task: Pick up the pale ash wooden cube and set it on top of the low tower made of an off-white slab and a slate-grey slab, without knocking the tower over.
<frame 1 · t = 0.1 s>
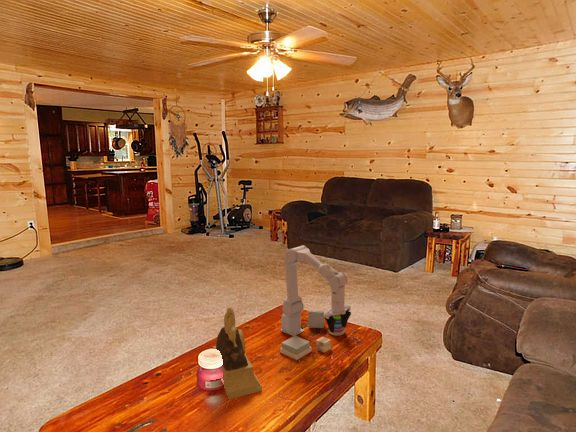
hand: (337, 329, 175), 10 cm above the table, fingers open, 7 cm apart
stacking toy: (336, 333, 193), on the table
top slab: (295, 347, 176), point 2 cm above the table, touching bottom slab
medicine box: (316, 326, 201), on the table
seated figure statue: (235, 376, 158), on the table
ash cube: (323, 349, 178), on the table
bottom slab: (295, 352, 176), on the table, touching top slab
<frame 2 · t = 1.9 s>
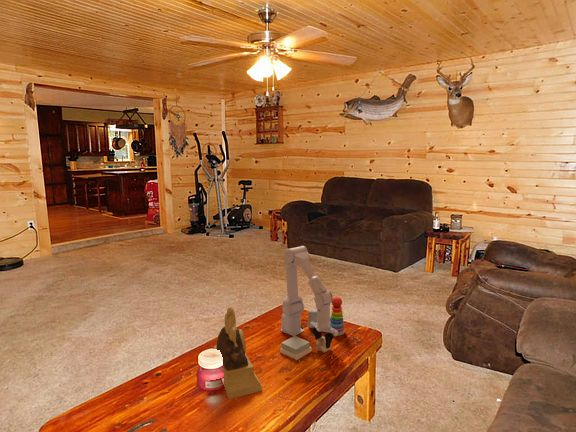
hand: (323, 345, 177), 2 cm above the table, fingers closed on ash cube, 5 cm apart
top slab: (295, 347, 176), point 2 cm above the table
ash cube: (323, 349, 178), on the table, touching gripper
bottom slab: (295, 353, 176), on the table
everything else where it was.
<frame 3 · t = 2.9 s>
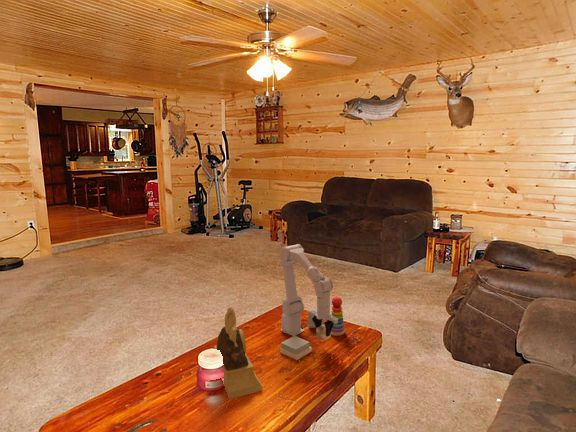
hand: (323, 333, 176), 7 cm above the table, fingers closed on ash cube, 5 cm apart
ash cube: (323, 337, 177), point 6 cm above the table, touching gripper
everything else where it was.
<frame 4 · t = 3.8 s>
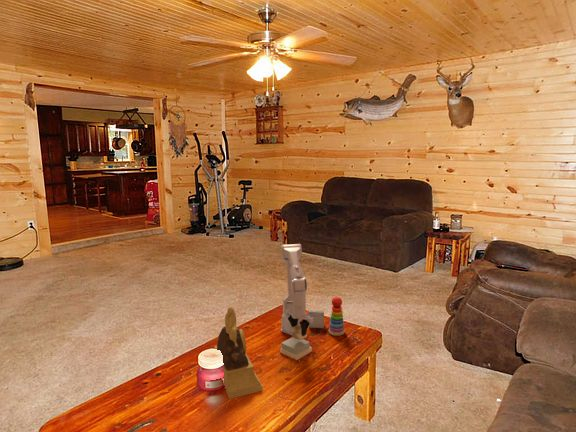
hand: (299, 333, 175), 9 cm above the table, fingers closed on ash cube, 5 cm apart
top slab: (295, 347, 176), point 2 cm above the table, touching bottom slab
ash cube: (299, 336, 175), point 7 cm above the table, touching gripper
bottom slab: (296, 353, 176), on the table, touching top slab
everything else where it was.
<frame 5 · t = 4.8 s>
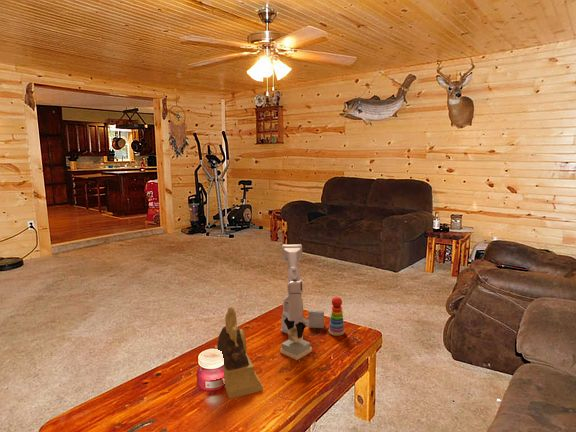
hand: (295, 335, 174), 8 cm above the table, fingers closed on ash cube, 5 cm apart
ash cube: (295, 339, 175), point 6 cm above the table, touching gripper
everything else where it was.
when the fingers open (8 cm above the table, at t = 4.8 s): ash cube drops 2 cm, point 4 cm above the table.
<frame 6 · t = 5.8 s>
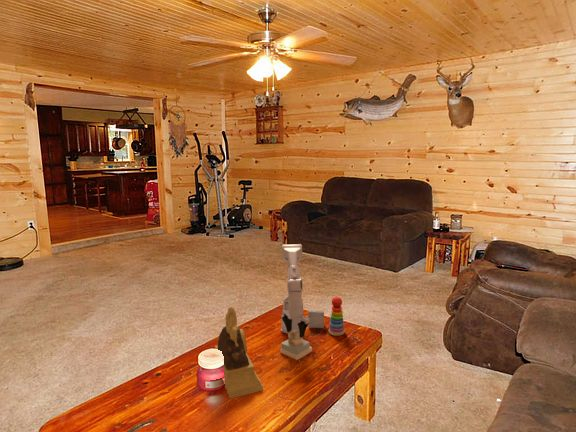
hand: (295, 334, 174), 8 cm above the table, fingers open, 7 cm apart
ash cube: (295, 342, 175), point 4 cm above the table
everything else where it was.
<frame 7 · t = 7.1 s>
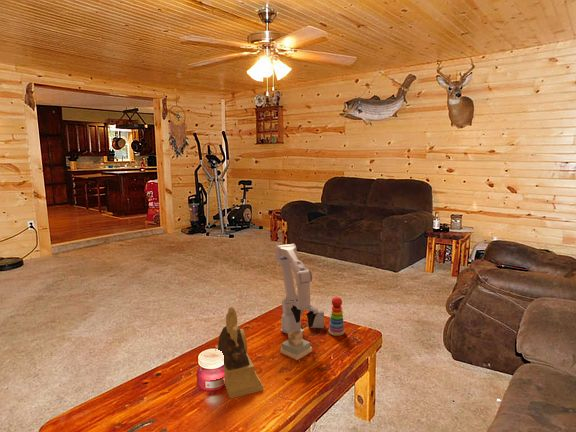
hand: (304, 324, 179), 10 cm above the table, fingers open, 7 cm apart
nothing on the table moved.
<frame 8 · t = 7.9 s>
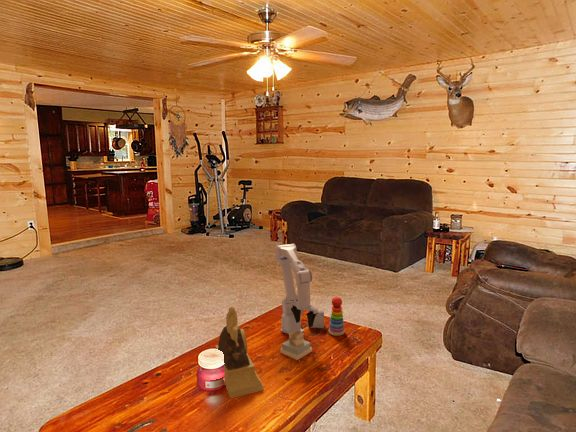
hand: (304, 324, 179), 10 cm above the table, fingers open, 7 cm apart
top slab: (296, 348, 175), point 2 cm above the table, touching ash cube, bottom slab
ash cube: (296, 342, 175), point 4 cm above the table, touching top slab
everything else where it was.
at the end: ash cube 0.2 cm off-centre on the top slab, point 2.5 cm above the top slab's base; ash cube tilted 1°; top slab moved 0.6 cm from its start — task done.
